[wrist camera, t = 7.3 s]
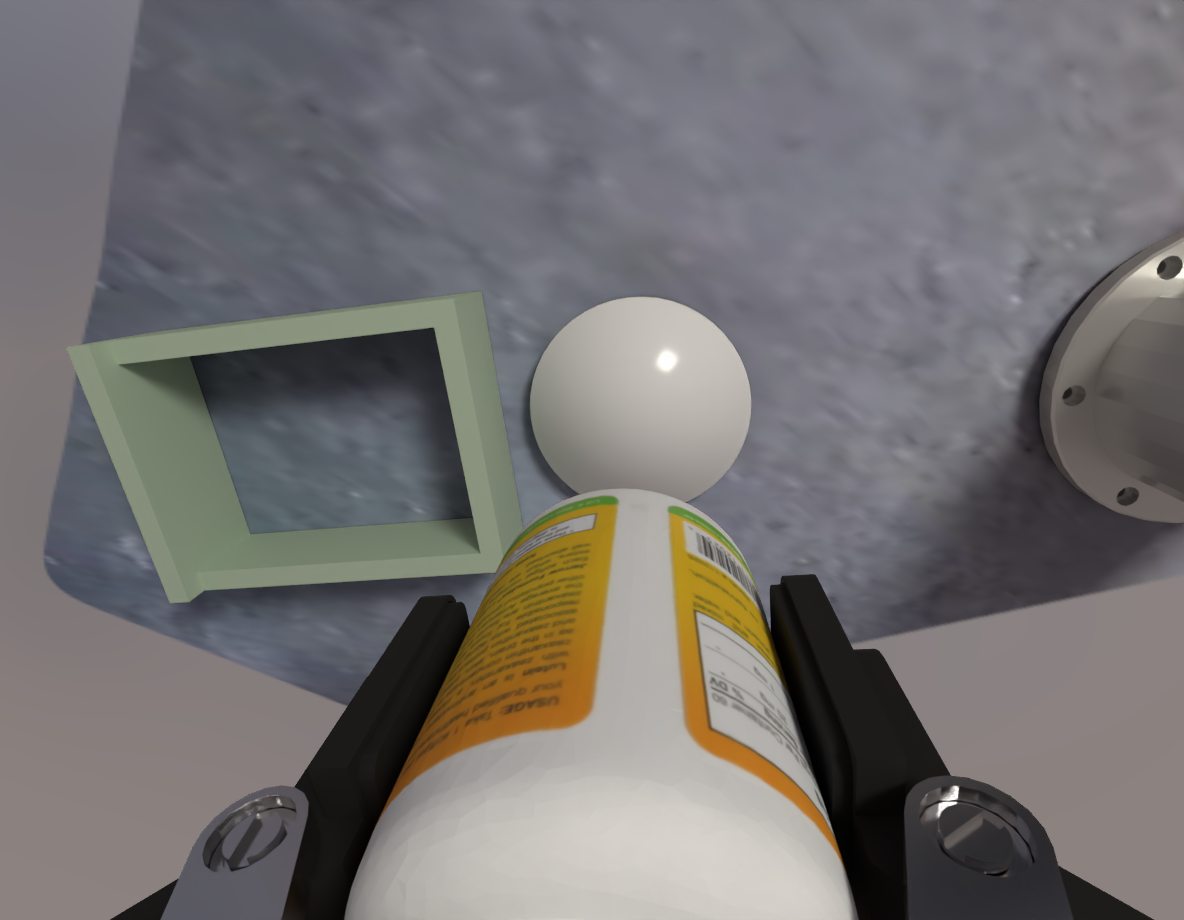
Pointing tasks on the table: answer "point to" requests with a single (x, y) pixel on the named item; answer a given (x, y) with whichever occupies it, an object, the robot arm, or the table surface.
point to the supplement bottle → (610, 742)
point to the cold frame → (204, 486)
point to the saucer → (640, 399)
